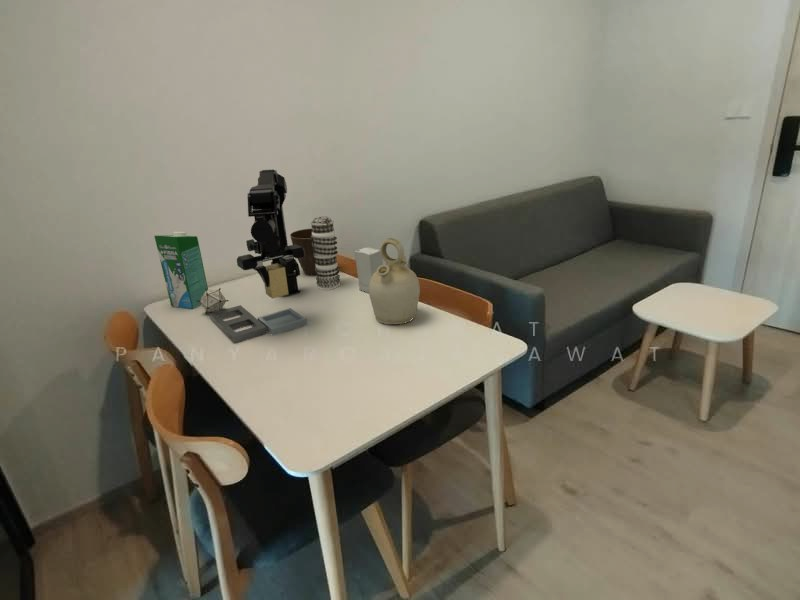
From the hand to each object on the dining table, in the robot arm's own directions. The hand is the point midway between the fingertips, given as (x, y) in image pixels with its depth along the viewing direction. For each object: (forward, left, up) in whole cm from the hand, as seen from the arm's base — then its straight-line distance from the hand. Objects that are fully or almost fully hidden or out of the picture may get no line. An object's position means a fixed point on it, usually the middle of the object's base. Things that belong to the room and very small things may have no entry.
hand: (275, 284), depth 144 cm
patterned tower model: (-27, -20, -13) cm, 36 cm away
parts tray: (0, 0, -13) cm, 13 cm away
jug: (-29, +19, -13) cm, 37 cm away
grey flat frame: (+11, -8, -13) cm, 19 cm away
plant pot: (-30, -37, -13) cm, 49 cm away
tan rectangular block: (0, 0, -3) cm, 3 cm away
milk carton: (+17, -38, -13) cm, 43 cm away
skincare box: (-36, -5, -13) cm, 39 cm away
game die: (+13, -24, -13) cm, 30 cm away
